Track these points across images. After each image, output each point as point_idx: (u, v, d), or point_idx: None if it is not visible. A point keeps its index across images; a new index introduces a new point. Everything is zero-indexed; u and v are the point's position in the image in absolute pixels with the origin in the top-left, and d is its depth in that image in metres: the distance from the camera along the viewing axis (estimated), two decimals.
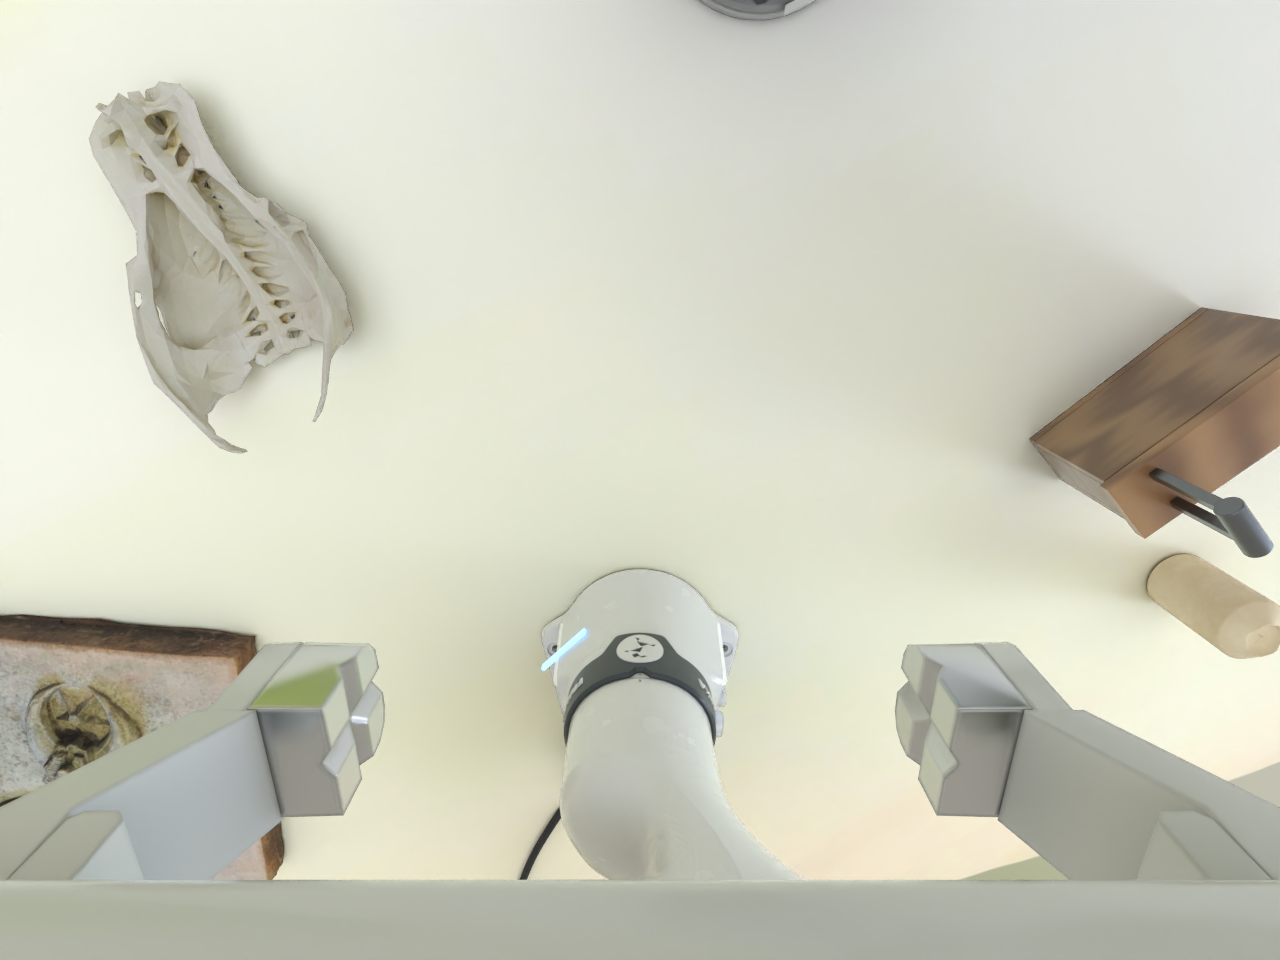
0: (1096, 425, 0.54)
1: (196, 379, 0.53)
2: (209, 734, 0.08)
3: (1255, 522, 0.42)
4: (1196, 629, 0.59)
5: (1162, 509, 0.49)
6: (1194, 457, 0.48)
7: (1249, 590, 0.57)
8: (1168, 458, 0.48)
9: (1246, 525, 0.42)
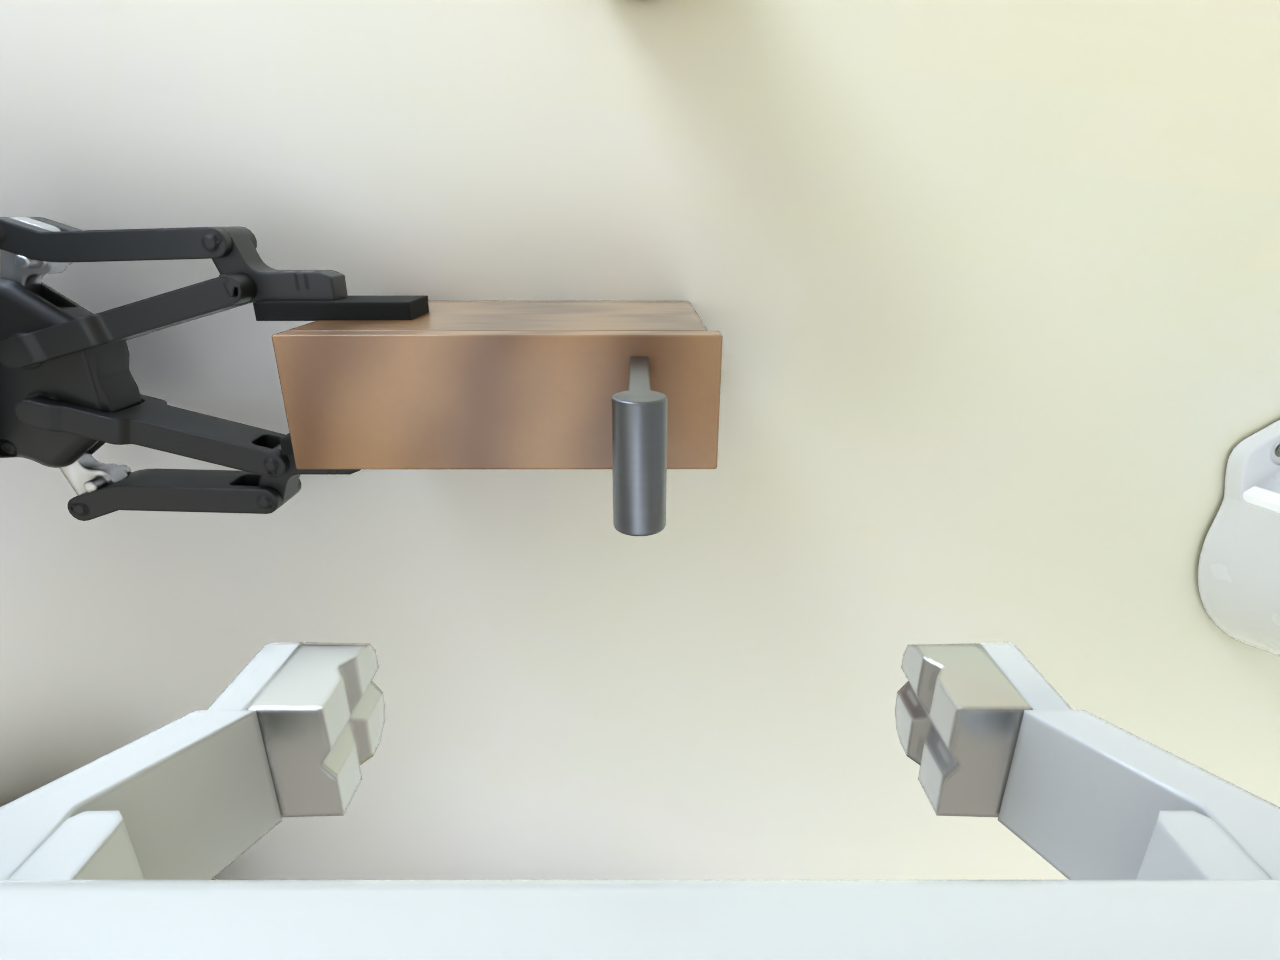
0: None
1: None
2: (209, 734, 0.08)
3: (623, 483, 0.19)
4: None
5: (665, 369, 0.26)
6: (572, 422, 0.26)
7: None
8: (607, 451, 0.27)
9: (642, 498, 0.19)
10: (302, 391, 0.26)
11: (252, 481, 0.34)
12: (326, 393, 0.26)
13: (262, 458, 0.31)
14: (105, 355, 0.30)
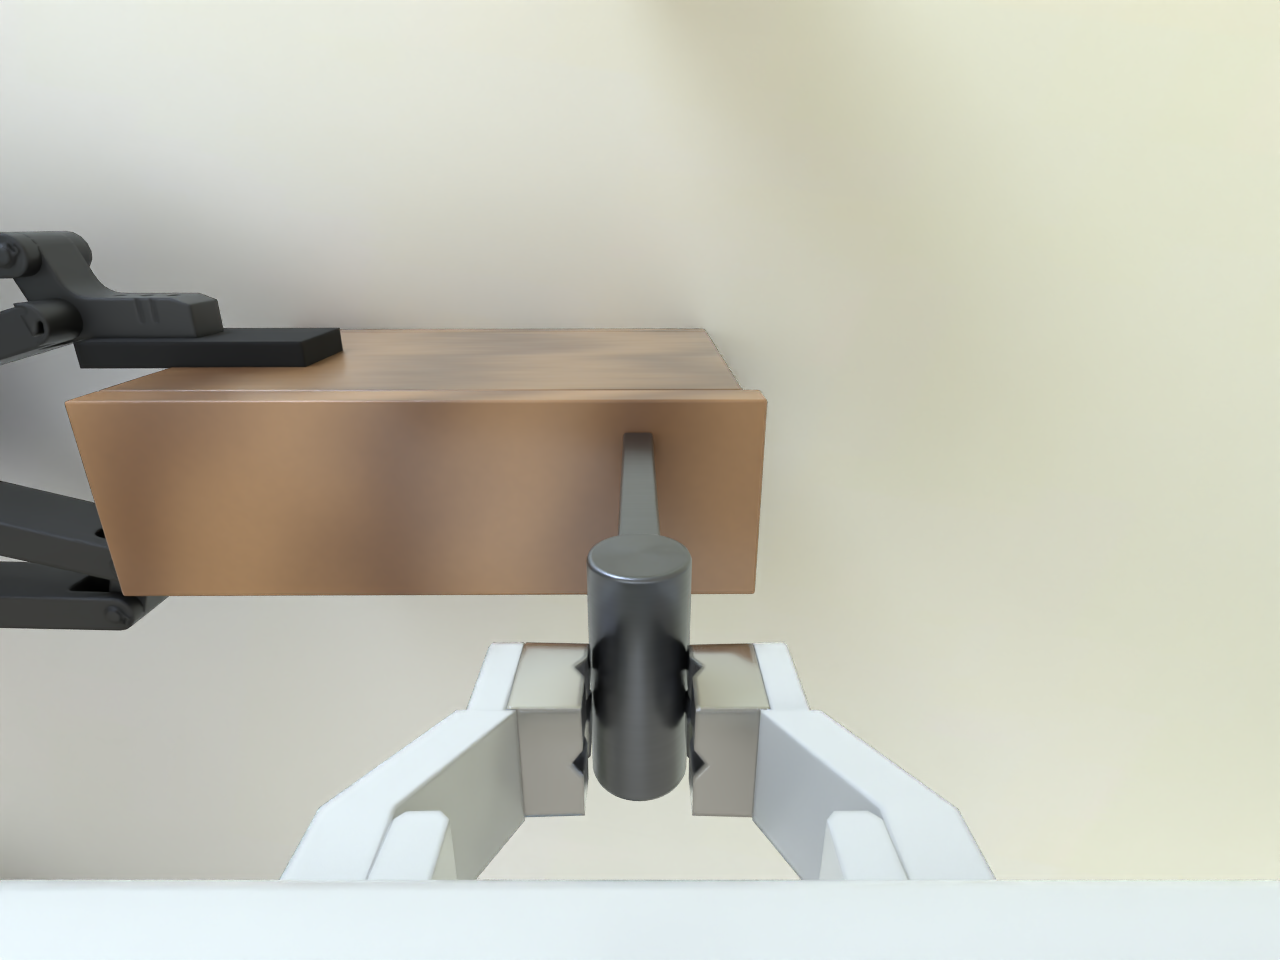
0: None
1: None
2: (483, 734, 0.08)
3: (608, 714, 0.10)
4: None
5: (678, 450, 0.17)
6: (537, 528, 0.17)
7: None
8: None
9: (645, 741, 0.10)
10: (120, 485, 0.17)
11: None
12: (158, 488, 0.17)
13: (107, 557, 0.22)
14: None
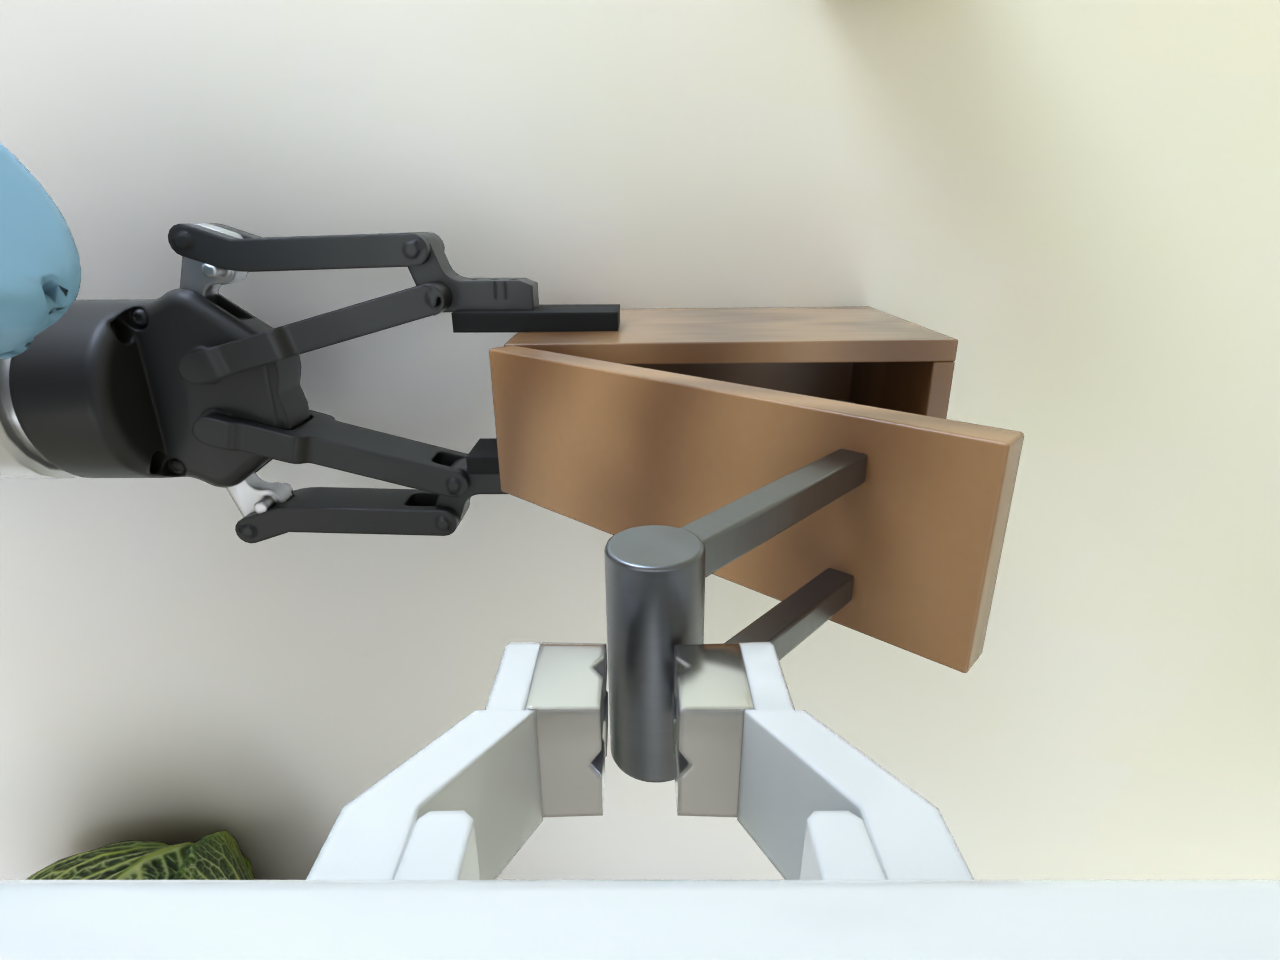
0: None
1: None
2: (503, 734, 0.08)
3: (609, 680, 0.11)
4: None
5: (894, 480, 0.15)
6: None
7: None
8: (794, 580, 0.17)
9: (627, 718, 0.11)
10: (507, 412, 0.24)
11: (421, 500, 0.32)
12: (523, 419, 0.23)
13: (445, 477, 0.29)
14: (284, 369, 0.29)
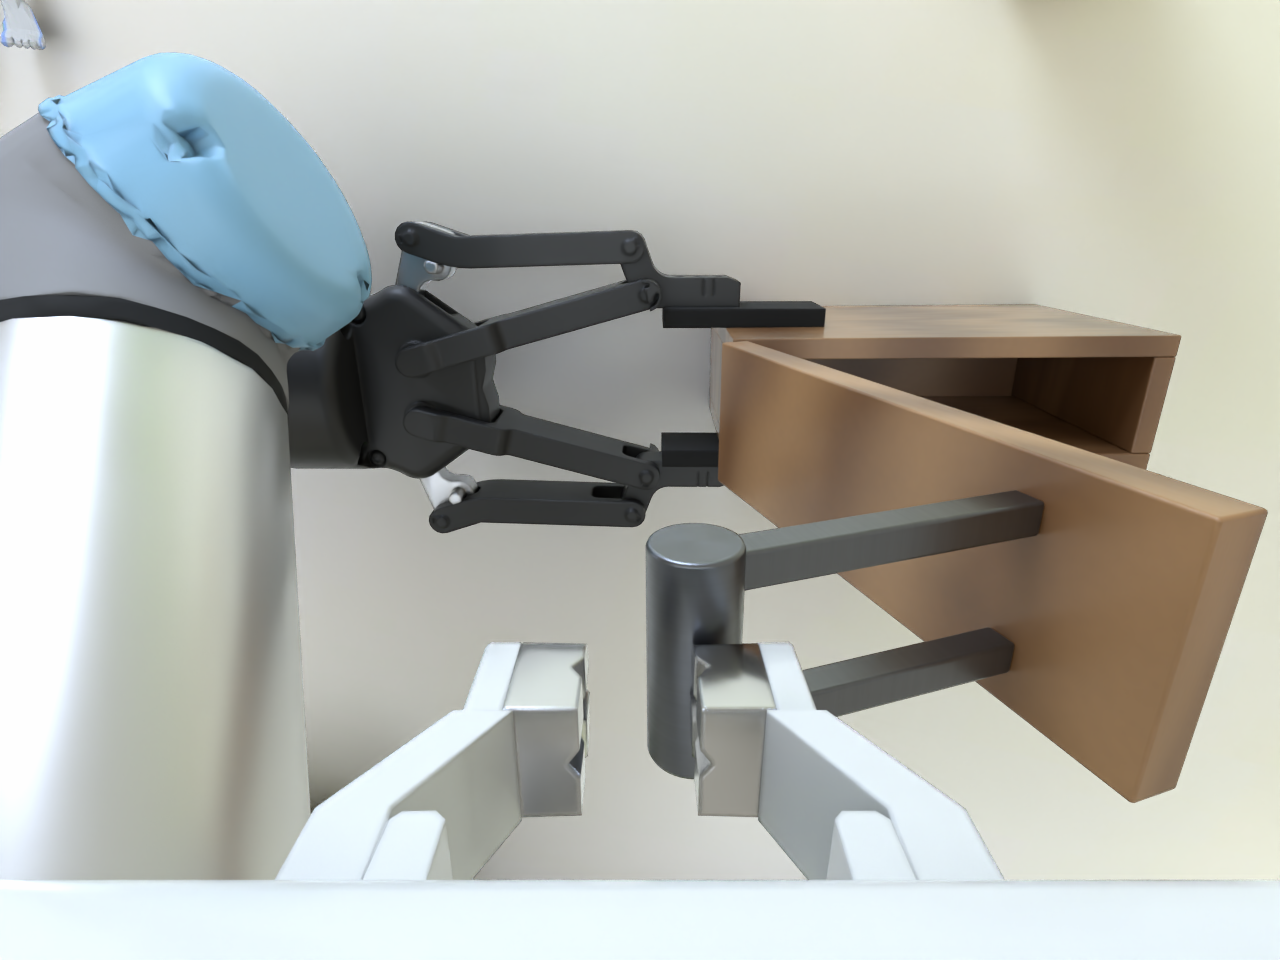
0: None
1: None
2: (479, 734, 0.08)
3: None
4: None
5: (1072, 540, 0.12)
6: (918, 558, 0.16)
7: None
8: (953, 632, 0.15)
9: (651, 703, 0.11)
10: (729, 405, 0.24)
11: (601, 493, 0.33)
12: (740, 413, 0.24)
13: (638, 470, 0.30)
14: (488, 363, 0.29)
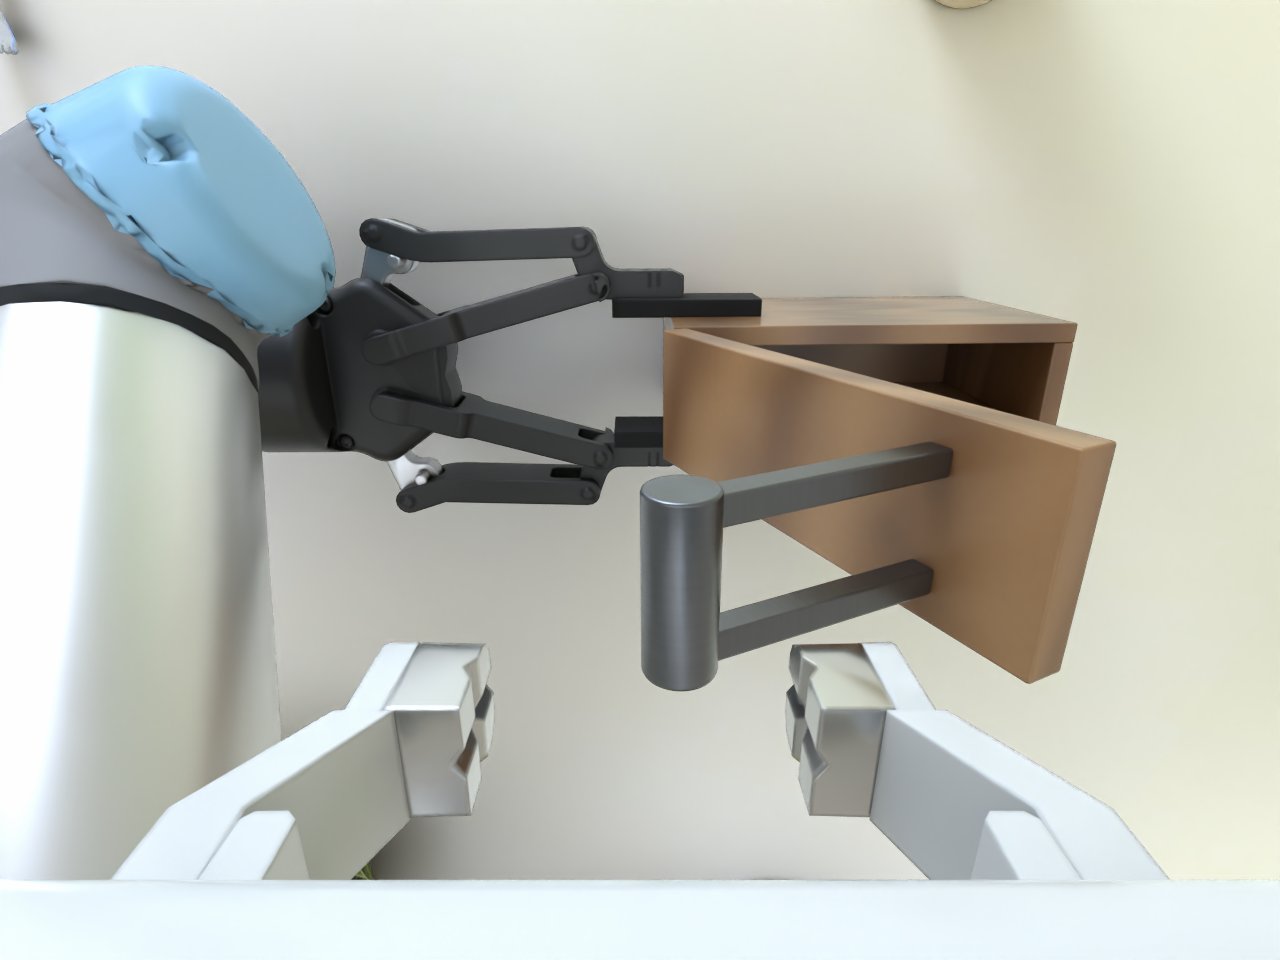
0: None
1: None
2: (354, 734, 0.08)
3: None
4: None
5: (975, 478, 0.15)
6: (852, 508, 0.19)
7: None
8: None
9: (647, 629, 0.13)
10: (672, 387, 0.27)
11: (560, 474, 0.35)
12: (683, 395, 0.26)
13: (593, 451, 0.32)
14: (450, 352, 0.31)
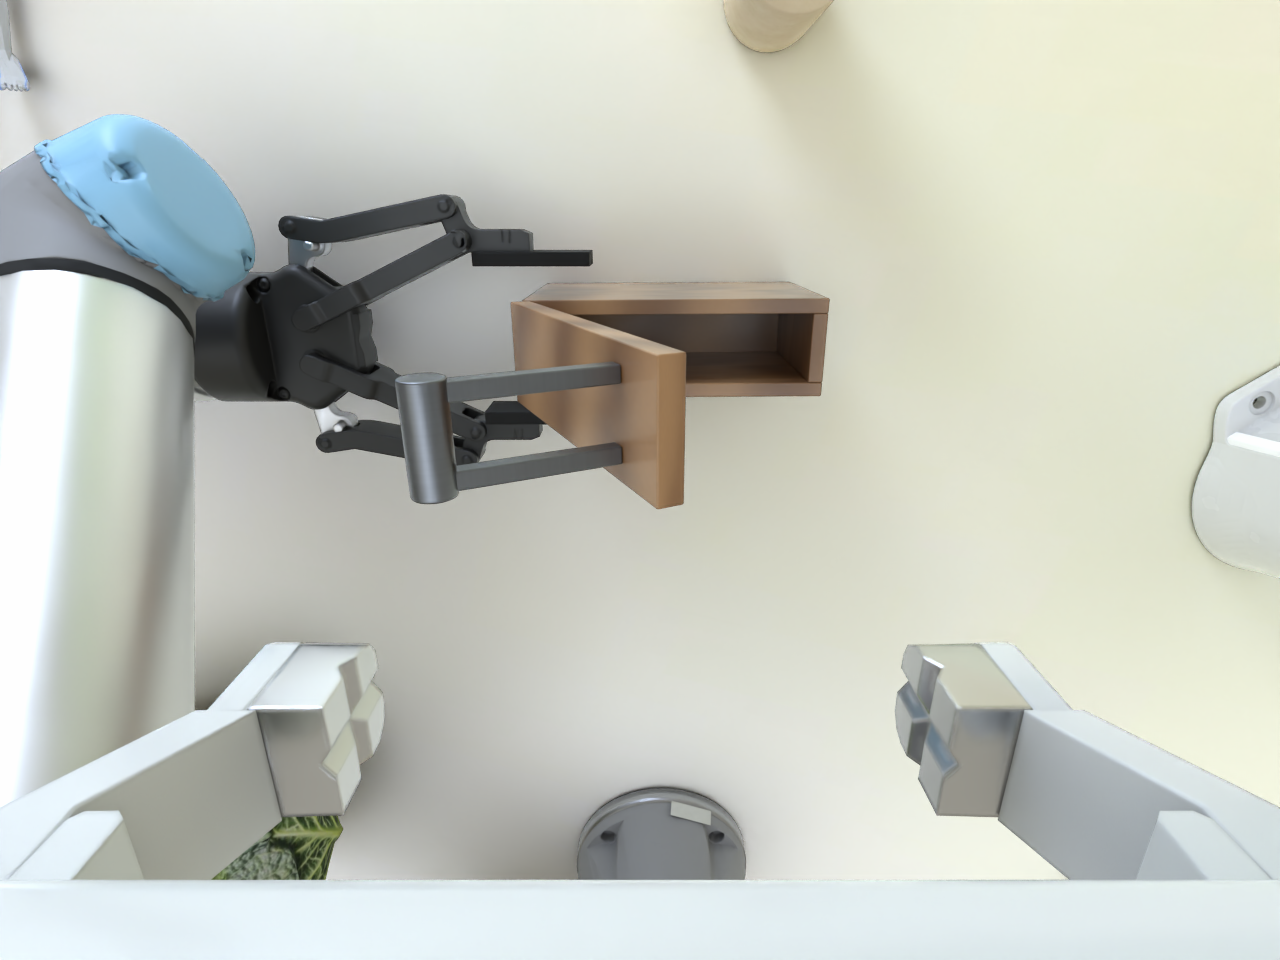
0: None
1: None
2: (209, 734, 0.08)
3: None
4: None
5: (629, 381, 0.24)
6: (592, 415, 0.27)
7: None
8: None
9: (406, 465, 0.22)
10: (517, 345, 0.35)
11: None
12: (522, 350, 0.35)
13: (470, 426, 0.42)
14: (363, 322, 0.40)
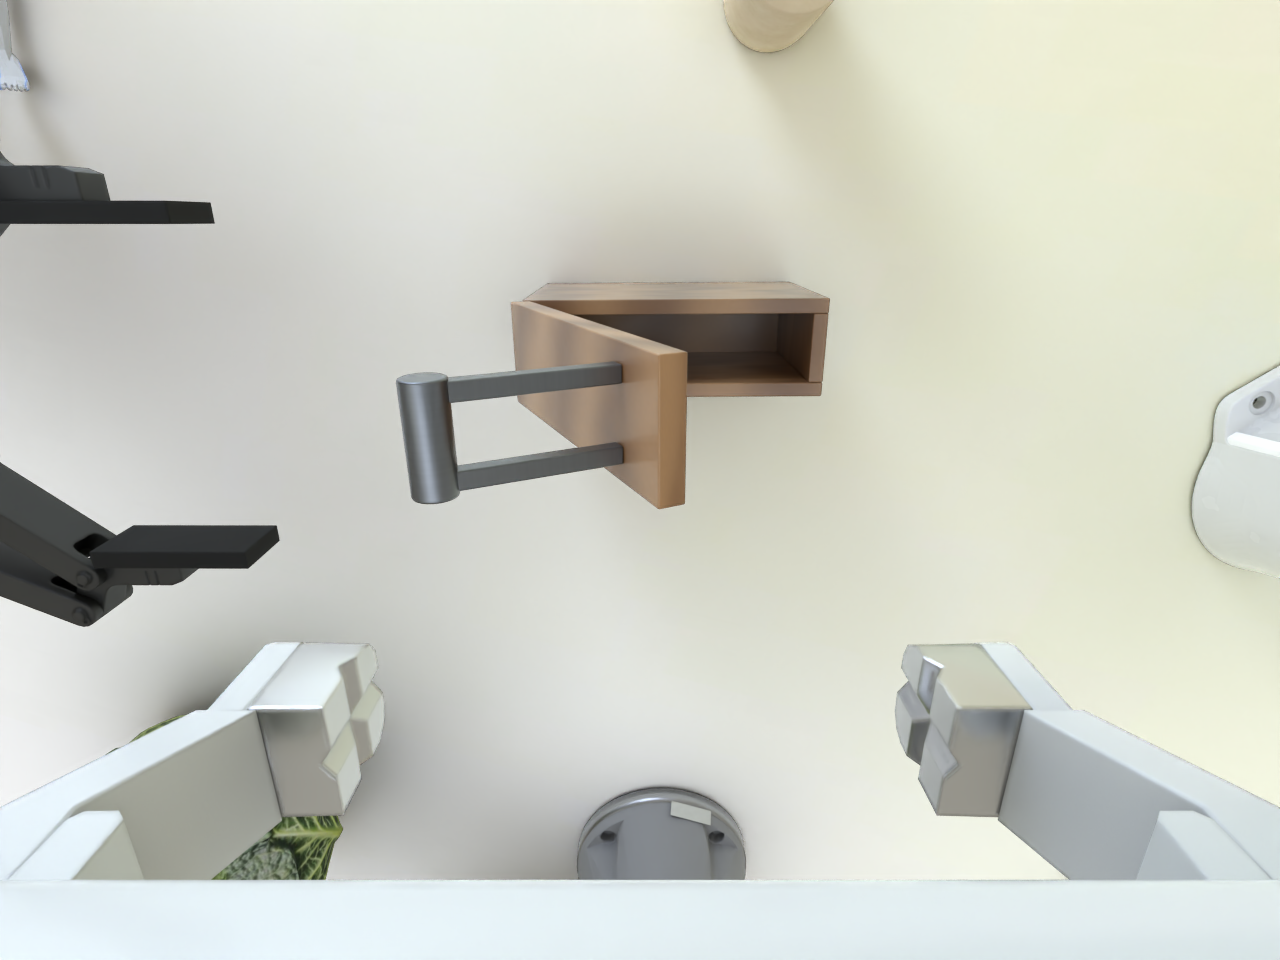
0: None
1: None
2: (209, 734, 0.08)
3: None
4: None
5: (630, 381, 0.24)
6: (593, 415, 0.27)
7: None
8: None
9: (407, 465, 0.22)
10: (518, 345, 0.35)
11: None
12: (523, 350, 0.35)
13: (77, 569, 0.29)
14: None
